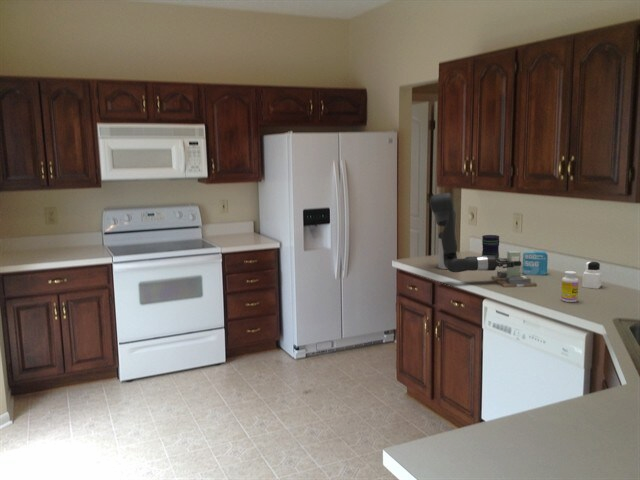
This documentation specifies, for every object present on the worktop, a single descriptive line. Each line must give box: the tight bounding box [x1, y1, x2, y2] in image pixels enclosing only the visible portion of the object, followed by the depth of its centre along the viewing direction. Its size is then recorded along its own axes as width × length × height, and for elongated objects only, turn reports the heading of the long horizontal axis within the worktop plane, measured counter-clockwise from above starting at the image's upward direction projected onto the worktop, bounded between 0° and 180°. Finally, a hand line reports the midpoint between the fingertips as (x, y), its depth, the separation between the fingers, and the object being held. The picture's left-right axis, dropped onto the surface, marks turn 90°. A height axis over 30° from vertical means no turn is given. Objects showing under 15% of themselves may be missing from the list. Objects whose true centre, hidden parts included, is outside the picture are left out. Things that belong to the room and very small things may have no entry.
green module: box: [506, 250, 521, 277], centre depth 284 cm, size 5×5×13 cm
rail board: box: [490, 270, 538, 288], centre depth 285 cm, size 20×16×4 cm
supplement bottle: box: [560, 270, 579, 303], centre depth 248 cm, size 7×7×13 cm
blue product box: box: [522, 250, 548, 276], centre depth 301 cm, size 12×4×12 cm, turn 73°
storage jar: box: [481, 234, 500, 258], centre depth 338 cm, size 10×10×15 cm
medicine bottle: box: [582, 261, 602, 290], centre depth 271 cm, size 7×7×12 cm
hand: (518, 262), depth 284 cm, fingers closed on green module, 4 cm apart
